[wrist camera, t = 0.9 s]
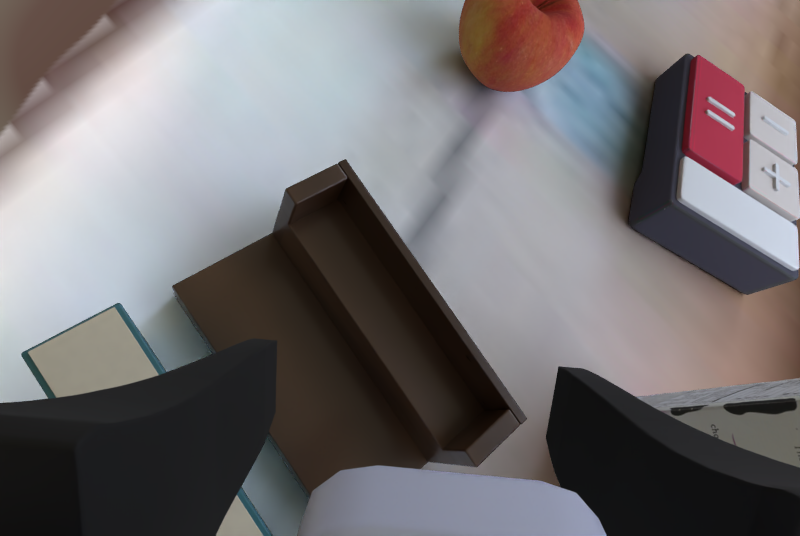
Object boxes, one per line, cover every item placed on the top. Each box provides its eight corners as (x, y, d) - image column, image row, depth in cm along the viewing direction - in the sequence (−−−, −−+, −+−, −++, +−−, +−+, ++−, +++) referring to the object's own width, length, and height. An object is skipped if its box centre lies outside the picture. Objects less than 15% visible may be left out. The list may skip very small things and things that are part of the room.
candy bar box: (696, 595, 28) (1248, 774, 13) (630, 635, 26) (1194, 902, 11) (623, 392, 30) (1016, 349, 15) (558, 415, 28) (938, 390, 13)
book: (217, 604, 20) (220, 673, 14) (72, 376, 21) (18, 352, 15) (281, 548, 21) (308, 591, 16) (143, 336, 22) (118, 300, 16)
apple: (421, 27, 33) (478, -84, 26) (508, 22, 36) (580, -80, 29) (463, 123, 32) (534, 33, 25) (549, 109, 35) (635, 25, 28)
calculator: (803, 118, 39) (812, 278, 32) (750, 148, 43) (748, 297, 36) (695, 43, 37) (679, 196, 30) (649, 81, 41) (626, 226, 34)
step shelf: (332, 535, 22) (374, 569, 17) (174, 295, 23) (162, 248, 17) (458, 422, 26) (527, 418, 20) (317, 218, 27) (345, 158, 21)
